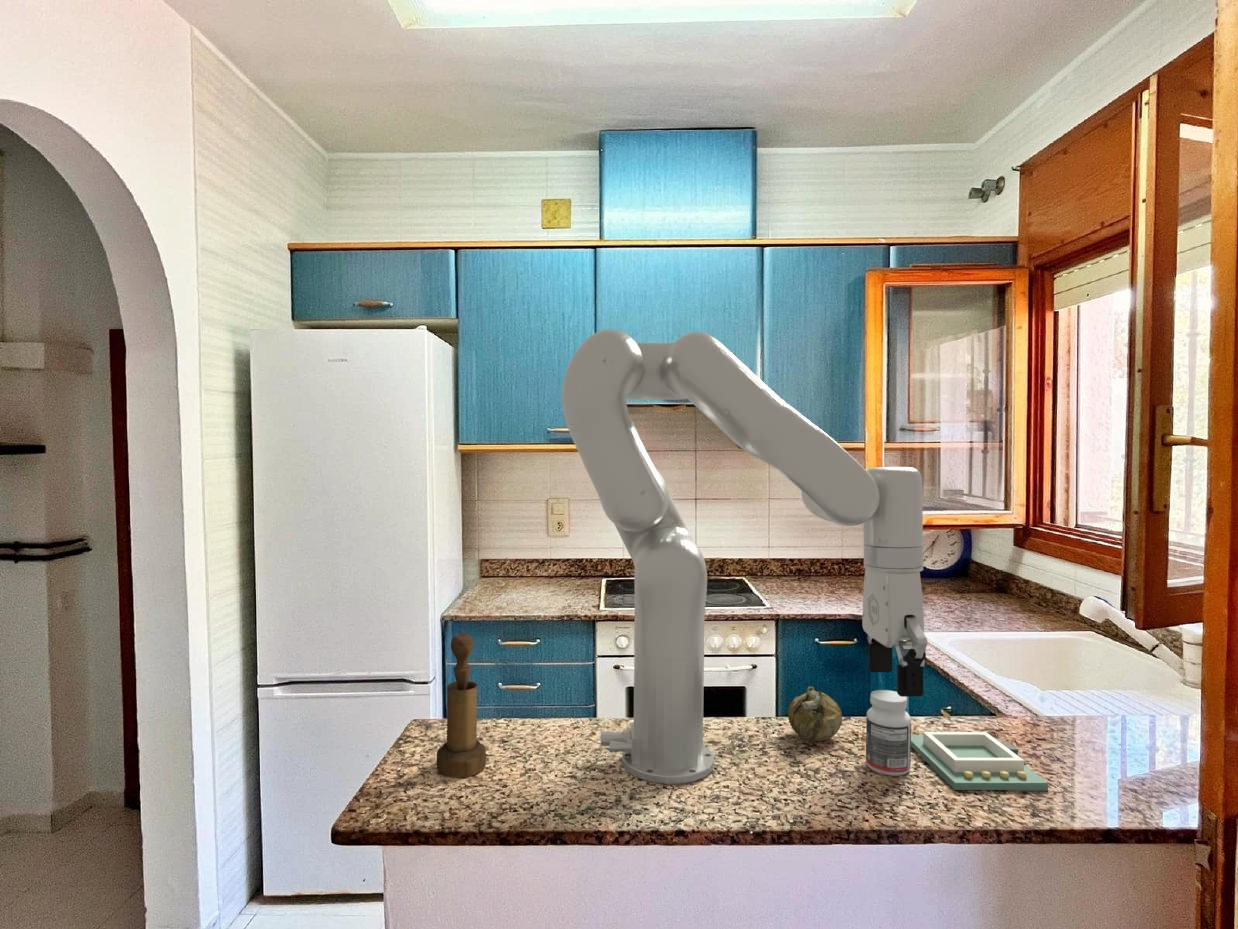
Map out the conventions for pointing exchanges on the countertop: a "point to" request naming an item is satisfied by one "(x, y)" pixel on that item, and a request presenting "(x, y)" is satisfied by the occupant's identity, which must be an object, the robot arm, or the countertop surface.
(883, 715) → the pill bottle
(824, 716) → the onion
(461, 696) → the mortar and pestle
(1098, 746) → the countertop surface
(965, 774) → the board
